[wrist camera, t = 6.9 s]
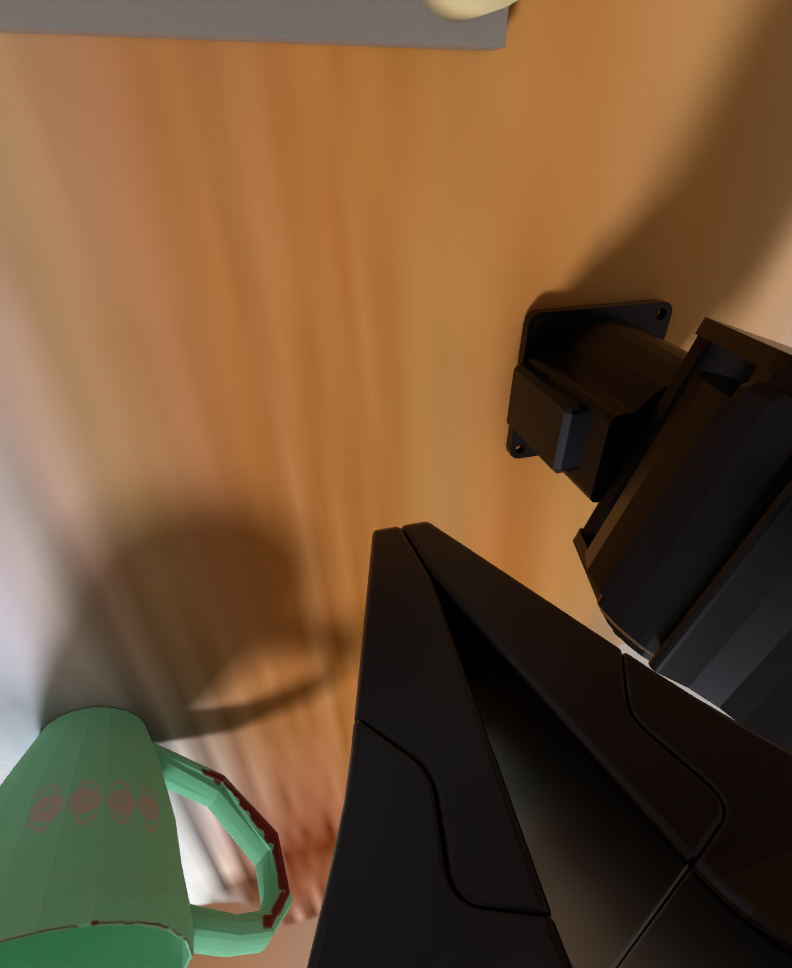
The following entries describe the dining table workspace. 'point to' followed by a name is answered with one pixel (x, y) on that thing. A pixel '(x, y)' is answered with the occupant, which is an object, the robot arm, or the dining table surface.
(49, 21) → the stand
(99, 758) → the mug
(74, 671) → the dining table surface
